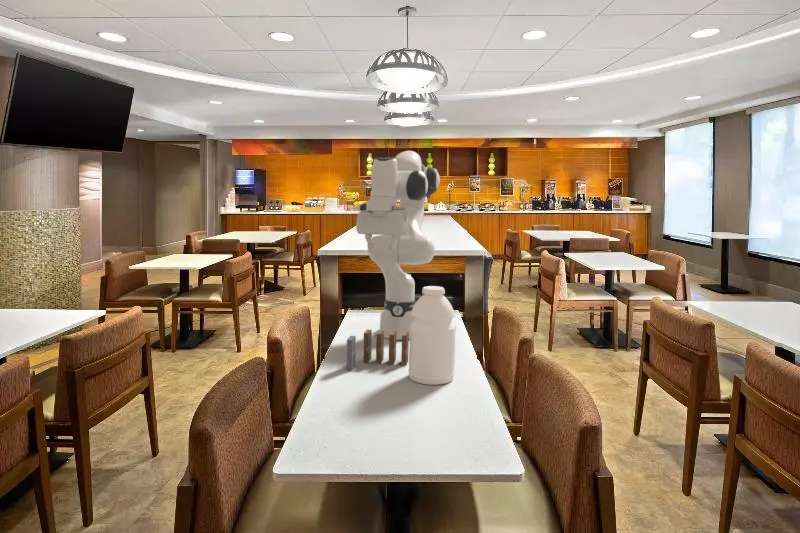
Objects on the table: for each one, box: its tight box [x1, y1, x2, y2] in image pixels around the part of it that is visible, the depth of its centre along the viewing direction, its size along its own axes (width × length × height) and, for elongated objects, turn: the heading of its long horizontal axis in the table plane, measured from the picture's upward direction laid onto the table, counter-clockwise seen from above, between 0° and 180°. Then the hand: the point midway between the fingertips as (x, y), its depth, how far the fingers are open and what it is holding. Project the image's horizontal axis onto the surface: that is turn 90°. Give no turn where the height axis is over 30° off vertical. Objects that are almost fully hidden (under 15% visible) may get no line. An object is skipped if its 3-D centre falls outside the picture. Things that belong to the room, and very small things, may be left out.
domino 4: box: [400, 332, 410, 366], centre depth 192 cm, size 2×5×10 cm, turn 171°
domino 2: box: [375, 329, 385, 365], centre depth 193 cm, size 2×5×10 cm, turn 171°
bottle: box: [408, 285, 457, 386], centre depth 177 cm, size 14×14×28 cm
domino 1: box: [362, 328, 373, 364], centre depth 194 cm, size 2×5×10 cm, turn 172°
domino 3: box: [388, 331, 397, 366], centre depth 193 cm, size 2×5×10 cm, turn 172°
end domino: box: [346, 335, 357, 372], centre depth 186 cm, size 2×5×10 cm, turn 172°
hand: (381, 248), depth 192 cm, fingers open, 8 cm apart
